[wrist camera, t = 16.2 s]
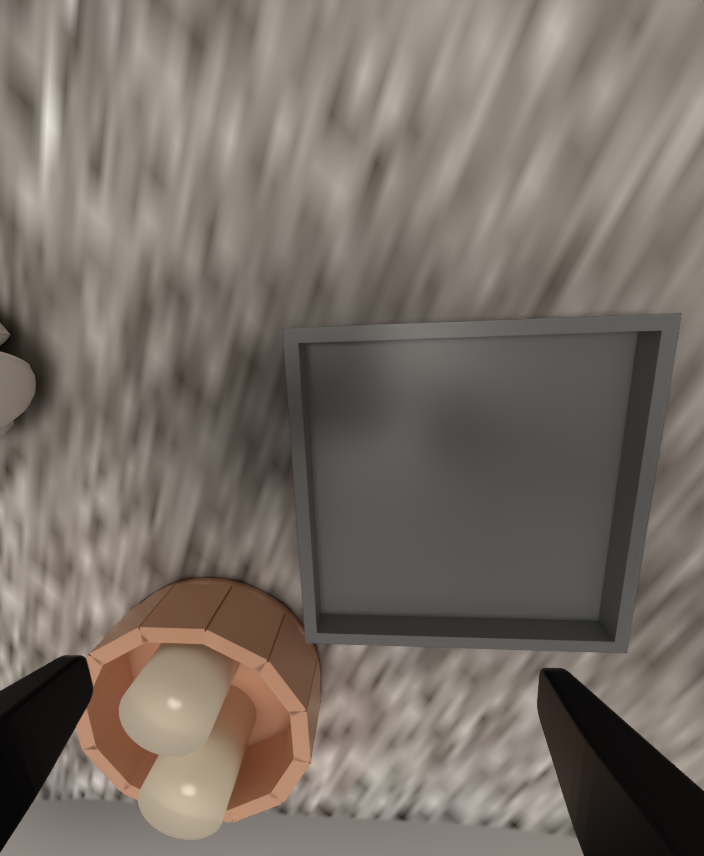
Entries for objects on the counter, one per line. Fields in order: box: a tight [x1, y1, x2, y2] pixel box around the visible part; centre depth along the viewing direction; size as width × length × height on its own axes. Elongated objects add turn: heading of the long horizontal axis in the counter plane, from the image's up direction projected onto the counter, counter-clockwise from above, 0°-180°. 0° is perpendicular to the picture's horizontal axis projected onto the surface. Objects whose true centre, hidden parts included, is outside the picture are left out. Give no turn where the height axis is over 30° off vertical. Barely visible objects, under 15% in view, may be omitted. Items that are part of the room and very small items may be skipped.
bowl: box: [76, 577, 321, 822], centre depth 19 cm, size 12×12×4 cm
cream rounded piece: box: [138, 685, 256, 840], centre depth 19 cm, size 4×4×4 cm
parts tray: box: [282, 313, 682, 653], centre depth 17 cm, size 15×15×2 cm
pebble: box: [119, 643, 240, 757], centre depth 18 cm, size 4×4×4 cm
